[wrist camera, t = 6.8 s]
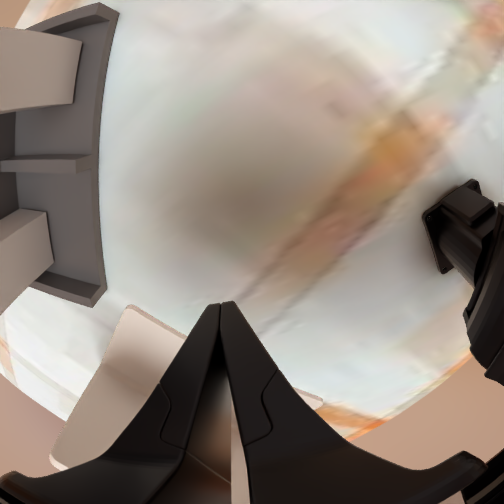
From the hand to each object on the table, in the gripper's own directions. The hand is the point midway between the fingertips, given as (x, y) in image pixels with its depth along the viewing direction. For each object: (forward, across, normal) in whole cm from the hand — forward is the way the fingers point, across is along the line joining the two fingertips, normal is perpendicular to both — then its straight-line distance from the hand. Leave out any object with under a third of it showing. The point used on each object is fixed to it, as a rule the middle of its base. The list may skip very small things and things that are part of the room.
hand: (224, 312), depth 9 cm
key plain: (+13, +11, -12) cm, 21 cm away
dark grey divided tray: (+14, +14, -6) cm, 21 cm away
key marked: (+13, +18, 0) cm, 22 cm away
